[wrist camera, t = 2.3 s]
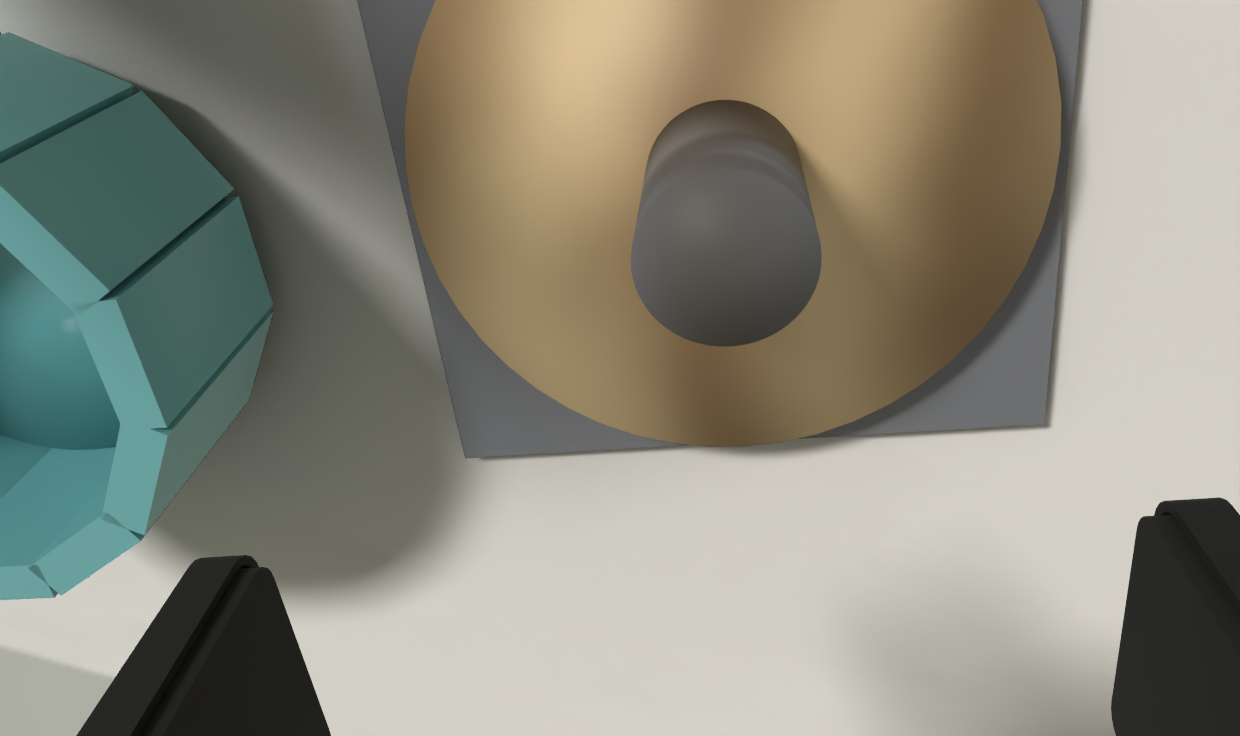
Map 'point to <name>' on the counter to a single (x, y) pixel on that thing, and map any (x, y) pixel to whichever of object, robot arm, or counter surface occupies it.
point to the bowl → (109, 316)
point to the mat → (950, 399)
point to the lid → (731, 197)
